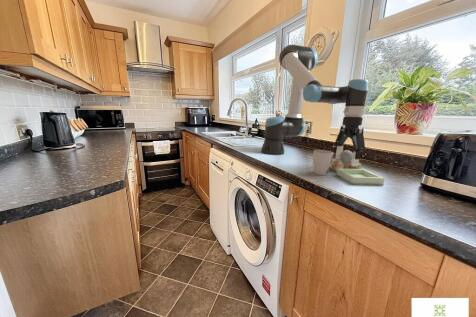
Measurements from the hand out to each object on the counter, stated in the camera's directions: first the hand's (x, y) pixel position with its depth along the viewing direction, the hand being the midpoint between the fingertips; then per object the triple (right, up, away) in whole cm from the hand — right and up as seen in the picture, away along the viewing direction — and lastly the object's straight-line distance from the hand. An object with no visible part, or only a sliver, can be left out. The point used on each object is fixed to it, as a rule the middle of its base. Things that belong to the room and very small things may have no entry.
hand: (345, 162), depth 92 cm
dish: (-1, -7, -11) cm, 13 cm away
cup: (-14, -5, -4) cm, 15 cm away
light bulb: (0, -4, +1) cm, 4 cm away
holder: (0, -4, +1) cm, 4 cm away
